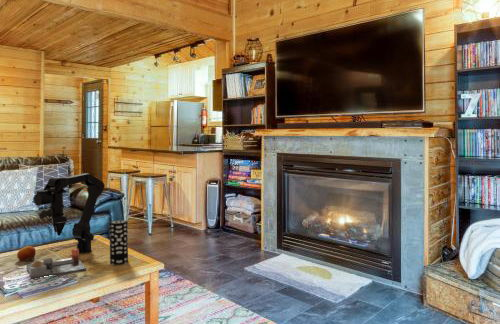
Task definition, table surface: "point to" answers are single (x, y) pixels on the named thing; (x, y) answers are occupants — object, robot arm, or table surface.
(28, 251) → the fruit
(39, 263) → the wooden ball
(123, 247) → the spotted tube
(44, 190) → the robot arm
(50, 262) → the lever
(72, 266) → the base
